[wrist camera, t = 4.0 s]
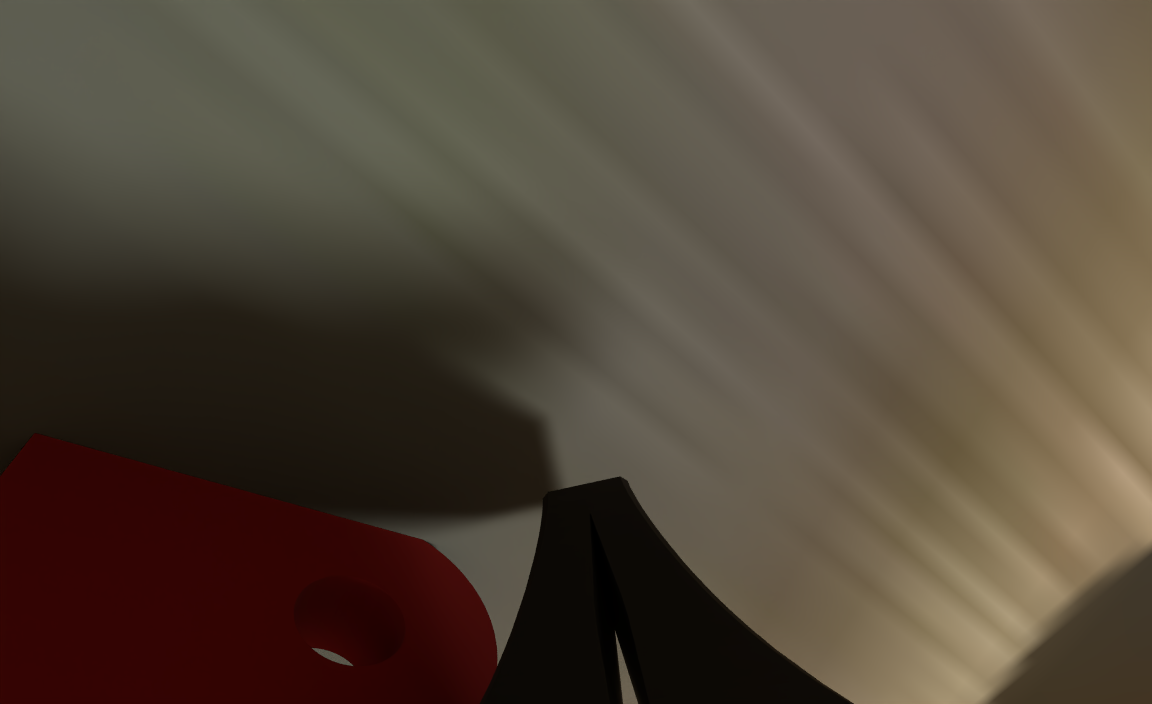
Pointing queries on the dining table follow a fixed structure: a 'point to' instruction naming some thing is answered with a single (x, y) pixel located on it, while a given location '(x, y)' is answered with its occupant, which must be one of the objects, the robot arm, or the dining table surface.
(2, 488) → the mechanical linkage
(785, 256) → the dining table surface
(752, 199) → the dining table surface
